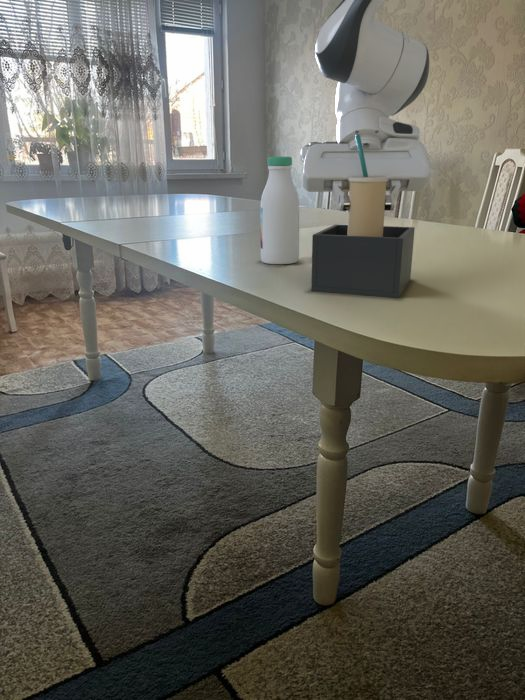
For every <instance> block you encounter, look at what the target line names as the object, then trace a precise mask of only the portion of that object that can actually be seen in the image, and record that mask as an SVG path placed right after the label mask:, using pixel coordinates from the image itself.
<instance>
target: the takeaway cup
mask: <svg viewBox="0 0 525 700" xmlns="http://www.w3.org/2000/svg"><path fill="white" fill-rule="evenodd" d="M355 137H356V142H357V147H358V152H359V157H360V162H361V167H362V172H363V177H349V179H348V181H350V186H349V192H348V196H349V198H350V199H349V201H350V207H349V211H348V213H347V225H348V232H347V236H370V237H383V227H384V226H385V225H384V224H385V211H386V210H385V197H386V195H387V194H386V193H387V191H386V182H387V181H388V177H384V176H375V177H368V173H367V168H366V163H365V158H364V153H363V148H362V143H361V138H360V135H359V134H356V136H355Z"/></svg>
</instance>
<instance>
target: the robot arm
mask: <svg viewBox="0 0 525 700" xmlns="http://www.w3.org/2000/svg"><path fill="white" fill-rule="evenodd" d="M385 1H386V0H342V1H341V2H340V3H339V4H338V5H337V6H336V8H334V9H333V11H332V12H331V13H330V14H329V16H328V18H327V19H326V20H325V21H324V23H323V25H322V26H321V29H320V30H319V32H318V34H317V37H316V40H315V44H314V51H313V52H314V56H315V60H316V63H317V65H318V68H319V70H320V72H321V73H322V75H323V77H324V78H327V79H329V80H332V81H336V82H337V86H336V90H335V91H336V93H335V117H336V120H337V124H336V130H335V132H336V133H335V134H336V141H322V142H320V141H310V142H309V144H305V145H304V146H302V148H301V150H300V160H301V162H302V163H303V170H302V171H303V172H302V188H303V189H304V190H305V191H306V192H308V193H329V192H330V193H331V195H332V197H333V198H334V200H335V201H336V202H337V203H338V205H339V211H340V212H342V211H343V212H344V211H345V212H346V211H349V207H350V201H349V199H350V198H349V195H348V194H347V195H345V193H344V192H348V193H349V186H350V181H348V179H349V177H363V172H362V167H361V162H360V157H359V152H358V147H357V142H356V137H355V136H356V134H359V135H360V138H361V143H362V148H363V153H364V158H365V163H366V168H367V173H368V177H375V176H384V177H388V181H387V182H386V192H389V194H386V197H385V211H394V209H395V206H396V205H395V204H396V200H397V198H398V196H399V195H400V192H422V191H424V190H425V189H426V188H427V187H428V185H429V183H430V180H431V175H432V167H431V166H432V165H431V161H430V157H429V154H428V150H427V148H426V146H425V144H424V143H423V142H422V141H421V140H420V128H419V127H418V126H417V125H414V124H410V123H405V122H401V121H398V120H394V119H392V118H390V117H393V116H396V115H397V114H399V113H400V112H401V111H403V110H404V109H406V108H407V107H408V106H409V105H411V104H413V102H414V101H415V100H416V99H417V98H418V97H419V96H420V95H421V93H422V92H423V90H424V88H425V86H426V84H427V81H428V77H429V72H430V53H429V50H428V49H429V48H428V46H427V44H426V43H424V42H422V41H421V40H419V39H417V38H415V37H413V36H412V35H410V34H407V33H406V32H404V31H402V30H398V29H396V28H394V27H392V26H390V25H388V24H387V23H385V22H383V21H381V20H379V19H377V18H376V17H374V16H375V14H376V13H377V12H378V10H379V9H380V8H381V6H382V5H383V4H384V2H385Z"/></svg>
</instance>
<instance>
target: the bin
mask: <svg viewBox="0 0 525 700" xmlns="http://www.w3.org/2000/svg"><path fill="white" fill-rule="evenodd" d="M415 230H416V229H415V227H414V226H392V225H391V226H390V225H389V226H387V225H384V227H383V237H370V236H347V232H348V224H337V223H335V224H333V225H331V226H328V227H327V228H324V229H322V230H320V231H317V232H316V233H313V234H312V238H311V239H312V240H311V241H312V242H311V243H312V244H311V284H310V285H311V289H310V291H311V292H319V293H320V292H321V293H331V294H346V295H357V296H369V297H381V298H392V299H393V298H395V299H399V298H400V296H401V295H402V293H403V292H404V290H405V288H406V287H407V286H408V284H409V282H410V281H411V278H412V277H411V276H412V265H413V254H414V241H415Z"/></svg>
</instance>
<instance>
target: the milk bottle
mask: <svg viewBox="0 0 525 700" xmlns="http://www.w3.org/2000/svg"><path fill="white" fill-rule="evenodd" d="M292 165H293V158H292V156H269V157H268V158H267V169H268V177H267V180H266V184H265V186H264V189H263V192H262V194H261V198H260V208H259V209H260V212H259V214H260V216H259V219H260V220H259V221H260V222H259V223H260V225H259V226H260V230H259V231H260V238H259V239H260V260H261V263H264V264H267V265H290V264H295V263H298V262H299V260H300V200H299V195H298V191H297V188H296V186H295V184H294V181H293V177H292V173H291V170H292V169H293V167H292Z"/></svg>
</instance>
